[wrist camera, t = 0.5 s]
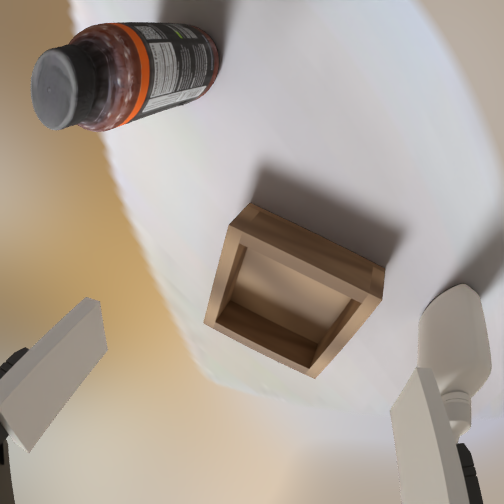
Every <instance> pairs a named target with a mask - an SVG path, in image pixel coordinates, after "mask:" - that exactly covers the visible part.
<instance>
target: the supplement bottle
mask: <svg viewBox="0 0 504 504" xmlns="http://www.w3.org/2000/svg"><path fill="white" fill-rule="evenodd" d="M218 68H219V56H218V51H217V48H216V46H215V44H214V42H213V41H212V39H211V38H210V36H209V35H208V34H206V33H205V32H204V31H203V30H201V29H199V28H197V27H194V26H191V25H186V24H173V23H147V22H146V23H143V22H126V23H119V22H118V23H104V24H98V25H94V26H90V27H88V28H86V29H84V30H83V31H81V32H80V33H78V34H77V35H76V36H75V37H74V38H73V39H72V40H71V41H70V43H69V44H68V45H65V46H62V47H57V48H52V49H49V50H47V51H45V52H44V53H43V54H42V55H41V56H40V57H39V59H38V61H37V62H36V64H35V66H34V69H33V72H32V77H31V98H32V103H33V107H34V110H35V112H36V114H37V116H38V118H39V120H40V121H41V122H42V123H43V124H44V125H45V126H46V127H47V128H50V129H52V130H60V129H64V128H66V127H69V126H73V125H78V126H80V127H82V128H84V129H87V130H90V131H94V132H101V131H107V130H110V129H113V128H116V127H118V126H121V125H124V124H128V123H130V122H132V121H135V120H138V119H140V118H143V117H146V116H149V115H152V114H155V113H158V112H161V111H163V110H167V109H170V108H173V107H176V106H180V105H184V104H187V103H189V102H191V101H194V100H196V99H198V98H200V97H201V96H203V95H204V94H205V93H206V92H207V91H208V90H209V89H210V87H211V86H212V84H213V83H214V81H215V79H216V76H217V72H218Z"/></svg>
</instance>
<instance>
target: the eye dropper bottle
mask: <svg viewBox="0 0 504 504" xmlns="http://www.w3.org/2000/svg"><path fill="white" fill-rule="evenodd" d="M417 367H420V368H431V369H432V371H433V374H434V377H435V380H436V382H437V385H438V388H439V391H440V394H441V397H442V400H443V403H444V406H445V409H446V413H447V416H448V419H449V422H450V426H451V429H452V432H453V436H454V440H455V443H456V444H458V440H459V437H460V436H461V435H463V434H465V433H466V432H467V431H468V430H469V429H470V427H471V398H472V397H473V396H474V395H475V394H476V393H477V392H478V391H479V389H480V388H481V387H482V386H483V385H484V383H485V382H486V380H487V379H488V377H489V375H490V372H491V367H492V364H491V354H490V347H489V340H488V334H487V328H486V323H485V318H484V313H483V308H482V304H481V300H480V297H479V295H478V294H477V293H476V292H475V291H474V290H473V289H472V288H470V287H469V286H468V285H466V284H459V285H457V286H454V287H452V288H450V289H449V290H447V291H445V292H444V293H442V294H441V295H439V296H438V297H437V298H436V299H435V300H433V301H432V303H431V304H430V305H429V306H428V307H427V308H426V310H425V311H424V313H423V314H422V316H421V318H420V321H419V325H418V357H417Z"/></svg>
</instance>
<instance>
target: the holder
mask: <svg viewBox="0 0 504 504" xmlns="http://www.w3.org/2000/svg"><path fill="white" fill-rule="evenodd" d="M384 278H385V268H383V267H381V266H379V265H377V264H375V263H373V262H371V261H369V260H367V259H365V258H364V257H362V256H360V255H358V254H356V253H354V252H352V251H350V250H348V249H346V248H344V247H342V246H340V245H338V244H336V243H334V242H332V241H330V240H327V239H325V238H323V237H321V236H319V235H317V234H315V233H313V232H311V231H309V230H307V229H305V228H303V227H301V226H299V225H297V224H294V223H292V222H290V221H288V220H286V219H284V218H282V217H280V216H278V215H275V214H273V213H271V212H269V211H267V210H265V209H263V208H260V207H258V206H256V205H254V204H252V203H249V204H248V205H247V206H246V207H245V208H244V209H243V210H242V212H241V213H240V214H239V215H238V216H237V217H236V218H235V219H234V220H233V221H232V222H231V223H230V224H229V226H228V230H227V234H226V237H225V241H224V245H223V249H222V252H221V256H220V260H219V264H218V268H217V271H216V275H215V279H214V283H213V287H212V291H211V295H210V299H209V303H208V307H207V311H206V315H205V319H204V324H206V325H208V326H210V327H211V328H213V329H215V330H217V331H219V332H221V333H223V334H224V335H226V336H228V337H230V338H232V339H234V340H236V341H238V342H240V343H242V344H244V345H246V346H247V347H249V348H251V349H253V350H255V351H257V352H259V353H261V354H263V355H265V356H267V357H269V358H272V359H274V360H276V361H278V362H280V363H282V364H284V365H286V366H288V367H290V368H292V369H294V370H297V371H299V372H301V373H303V374H305V375H307V376H310V377H312V378H314V379H315V378H316V377H317V376H318V375H319V374H320V373H321V372H322V371H323V369H324V368H325V367H326V366H327V365H328V364H329V363H330V362H331V361H332V360H333V358H334V357H335V356H336V355H337V354H338V353H339V352H340V351H341V349H342V348H343V347H344V346H345V345H346V344H347V342H348V341H349V340H350V339H351V338H352V337H353V335H354V334H355V333H356V332H357V331H358V329H359V328H360V327H361V326H362V325H363V323H364V322H365V321H366V320H367V318H368V317H369V316H370V315H371V313H372V312H373V311H374V310H375V308H376V307H377V306H378V305H379V303H380V302H381V301H382V297H383V288H384Z"/></svg>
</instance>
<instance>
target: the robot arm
mask: <svg viewBox="0 0 504 504" xmlns="http://www.w3.org/2000/svg"><path fill="white" fill-rule="evenodd" d="M107 350H108V349H107V343H106V337H105V332H104V326H103V320H102V313H101V306H100V301H97V300H94V299H91V298H88V297H86V298H84V299H83V300H82V301H81V302H80V303H79V304H78V305H76V306H75V307H74V308H73V309H72V310H71V311H70V312H69V313H68V314H67V315H66V316H64V317H63V318H62V319H61V320H60V321H59V322H58V323H57V324H56V325H55V326H54V327H53V328H52V329H51V330H49V331H48V332H47V333H46V334H45V335H44V336H43V337H42V338H41V339H40V340H39V341H38V342H37V343H36V344H35V345H34V346H33V347H32V348H31V349H30V350H29V349H27V348H26V347H25V348H23V349H21V350H19V351H17V352H15V353H14V354H13V355H12V356H11V357H9V358H8V359H7V360H6V363H3V364H2V365H1V366H0V504H15V501H14V495H13V488H12V481H11V474H10V464H9V454H8V443H7V440H6V438H7V437H8V435H9V436H10V437H11V439H12V440H13V441H14V443H15V444H17V445H18V446H20V447H21V448H23V449H24V450H25V451H27V452H28V453H30V451H31V450H32V448H33V447H34V445H35V444H36V443H37V441H38V440H39V439H40V437H41V436H42V435H43V433H44V432H45V430H46V429H47V428H48V427H49V425H50V424H51V422H52V421H53V420H54V418H55V417H56V416H57V414H58V413H59V412H60V410H61V409H62V408H63V407H64V405H65V404H66V403H67V401H68V400H69V399H70V397H71V396H72V395H73V393H74V392H75V391H76V389H77V388H78V387H79V386H80V384H81V383H82V382H83V381H84V379H85V378H86V377H87V375H88V374H89V373H90V372H91V370H92V369H93V368H94V367H95V365H96V364H97V363H98V362H99V360H100V359H101V358H102V357H103V355H104V354H105V353H106V352H107ZM390 415H391V421H392V428H393V434H394V441H395V448H396V456H397V464H398V472H399V482H400V491H401V504H483V500H482V496H481V491H480V487H479V483H478V478H477V476H476V470H475V467H474V463H473V459H472V456H471V453H470V451H469V450H468V448H467V447H466V446H465V444H464V443H460V444H456V443H455V440H454V436H453V432H452V429H451V426H450V422H449V419H448V416H447V413H446V409H445V406H444V403H443V400H442V397H441V394H440V391H439V388H438V385H437V382H436V380H435V377H434V374H433V371H432V369H431V368H420V367H416V368H415V370H414V372H413V373H412V375H411V377H410V379H409V380H408V382H407V384H406V385H405V387H404V389H403V390H402V392H401V394H400V395H399V397H398V399H397V400H396V402H395V403H394V405H393V406H392V408H391V410H390Z"/></svg>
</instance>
